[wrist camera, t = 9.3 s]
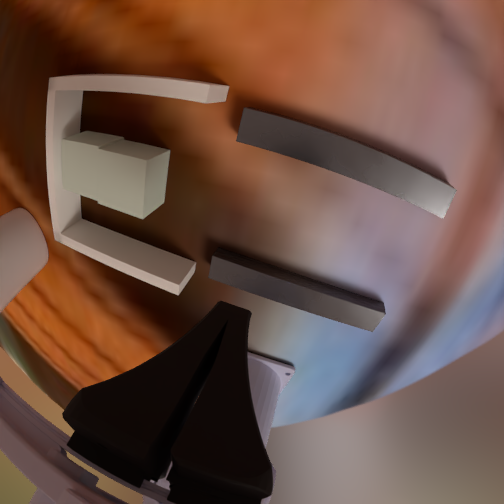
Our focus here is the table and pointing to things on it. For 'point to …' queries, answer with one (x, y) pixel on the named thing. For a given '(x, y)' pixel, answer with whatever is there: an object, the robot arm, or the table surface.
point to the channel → (345, 163)
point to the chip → (83, 161)
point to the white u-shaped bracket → (69, 204)
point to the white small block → (132, 177)
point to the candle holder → (19, 253)
